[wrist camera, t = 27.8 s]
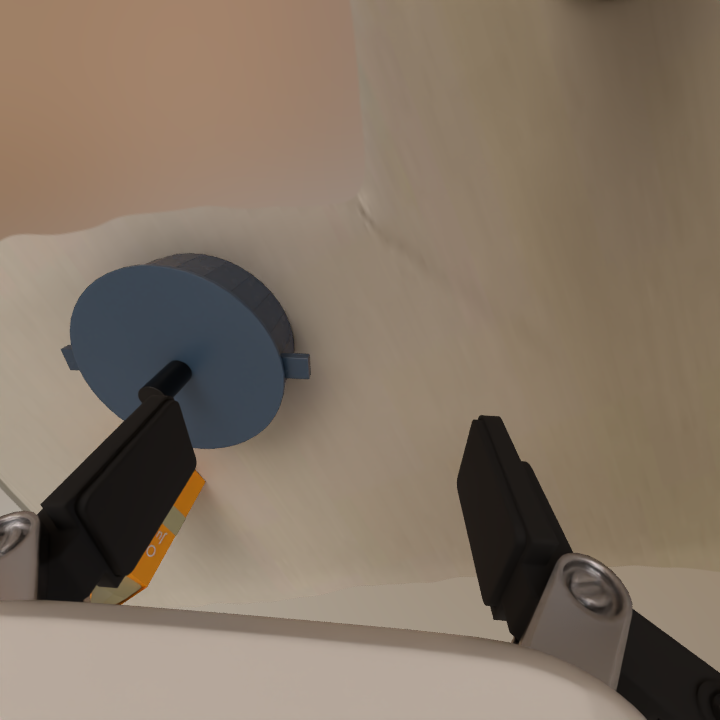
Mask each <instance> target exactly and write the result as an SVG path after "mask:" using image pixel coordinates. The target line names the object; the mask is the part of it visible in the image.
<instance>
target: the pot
mask: <svg viewBox="0 0 720 720" xmlns="http://www.w3.org/2000/svg"><path fill="white" fill-rule="evenodd" d="M146 264H156V265H166V266H172V267H177V268H181V269H185V270H188V271H191V272H194V273H197V274H200V275H202V276H204V277H206V278H208V279H210V280H213V281H215V282H217V283H218V284H220V285H221V286H223V287H225V288H226V289H228V290H229V291H231V292H232V293H233V294H235V295H236V296H237V297H239V298H240V299H241V300H242V301H244V302H245V303H246V304H247V305H248V306H249V307H250V308H251V309H252V310H253V311H254V312H255V313H256V314H257V316H258V317H259V318H260V319H261V320H262V322H263V323H264V324H265V326H266V327H267V329H268V330H269V332H270V333H271V335H272V337H273V339H274V341H275V343H276V345H277V347H278V349H279V352H280V355H281V358H282V362H283V367H284V374H285V382H286V380H287V378H293V379H309V378H310V375H311V370H310V355H309V354H300V353H294V341H293V334H292V330H291V327H290V323H289V321H288V318H287V316H286V314H285V312H284V310H283V308H282V307H281V305H280V304H279V302H278V301H277V299H276V298H275V297H274V295H273V294H272V293H271V292H270V291H269V290H268V289H267V288H266V287H265V285H264V284H263V283H261V282H260V281H259V280H258V279H257V278H255V277H254V276H253V275H252V274H250V273H248V272H247V271H245V270H244V269H242V268H241V267H239V266H237V265H234V264H232V263H230V262H228V261H225V260H223V259H220V258H217V257H213V256H208V255H203V254H192V253H190V254H176V255H172V256H167V257H165V258H161V259H157V260H154V261H151V262H149V263H146ZM146 264H144V265H146ZM61 351H62V353H63V355H64V357H65V359H66V362H67V364H68V366H69V368H70V370H79V368H78V366H77V363H76V360H75V358H74V355H73V351H72V346H71V345H68V346H66V347H64V348H62V349H61Z"/></svg>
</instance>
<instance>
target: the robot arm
mask: <svg viewBox="0 0 720 720" xmlns="http://www.w3.org/2000/svg"><path fill="white" fill-rule="evenodd" d="M195 468H196V457H195V454H194V451H193V447H192V444H191V441H190V437H189V434H188V431H187V427H186V424H185V421H184V418H183V414H182V411H181V408H180V404H179V402H178V401H175V400H174V398H173V397H172V396H164V395H151V396H149V397H148V398H147V399H146V400H145V401H144V402H143V403H142V404H141V405H140V406H139V407H138V408H137V409H136V410H135V411H134V412H133V413H132V414H131V415H130V416H129V417H128V418H127V419H126V420H125V421H124V422H123V423H122V424H121V425H120V426H119V427H118V428H117V429H116V430H115V431H114V432H113V433H112V434H111V435H110V436H109V437H108V438H107V439H106V440H105V441H104V442H103V443H102V444H101V445H100V446H99V447H98V448H97V449H96V450H95V451H94V452H93V453H92V454H91V455H90V456H89V457H88V458H87V459H86V460H85V461H84V462H83V463H82V464H81V465H80V466H79V467H78V468H77V469H76V470H75V471H74V472H73V473H72V474H71V475H70V476H69V477H68V478H67V479H66V480H65V481H64V482H63V483H62V484H61V485H60V486H59V487H58V488H57V489H56V490H55V491H54V492H53V493H52V494H51V495H50V496H48V497H47V498H46V499H45V500H44V501H43V502H42V503H41V504H40V505H41V506H42V507H43V509H42V510H41V511H40V512H39V513H38V514H37V515H36V514H35V513H34V512H29V511H19V512H13V513H10V514H7V515H3V516H1V517H0V720H720V673H719V672H718V671H716V670H715V669H714V668H712V667H711V666H710V665H708V664H707V663H706V662H704V661H703V660H701V659H700V658H698V657H697V656H696V655H695V654H693V653H692V652H690V651H689V650H688V649H687V648H685V647H684V646H682V645H681V644H680V643H678V642H677V641H676V640H674V639H673V638H672V637H670V636H669V635H668V634H666V633H665V632H663V631H662V630H661V629H659V628H658V627H656V626H655V625H654V624H653V623H651V622H650V621H648V620H647V619H646V618H644V617H643V616H642V615H640V614H639V613H638V612H636V611H635V610H633V609H632V601H631V598H630V595H629V592H628V591H627V589H626V587H625V586H624V584H623V583H622V581H621V580H620V579H619V578H618V577H617V576H616V574H615V573H614V572H613V571H612V570H610V569H609V568H608V567H607V566H605V565H604V564H603V563H601V562H600V561H598V560H596V559H594V558H592V557H590V556H588V555H584V554H580V553H573V551H572V549H571V547H570V545H569V543H568V541H567V539H566V537H565V535H564V533H563V531H562V529H561V527H560V525H559V523H558V521H557V519H556V517H555V514H554V512H553V510H552V508H551V506H550V504H549V502H548V500H547V498H546V496H545V494H544V492H543V490H542V488H541V486H540V484H539V482H538V480H537V478H536V476H535V473H534V471H533V469H532V468H531V466H530V465H529V464H528V463H527V462H524V461H521V460H520V458H519V456H518V454H517V451H516V449H515V447H514V445H513V443H512V441H511V438H510V436H509V434H508V432H507V430H506V428H505V425H504V423H503V421H502V419H501V418H500V417H499V416H484V415H481V416H479V418H478V420H473V421H472V424H471V428H470V432H469V436H468V439H467V443H466V447H465V451H464V455H463V458H462V462H461V466H460V470H459V474H458V478H457V489H458V494H459V498H460V503H461V507H462V512H463V516H464V520H465V525H466V529H467V534H468V538H469V542H470V547H471V551H472V556H473V560H474V564H475V569H476V573H477V578H478V582H479V586H480V591H481V595H482V599H483V602H484V604H485V605H486V606H490V607H491V611H492V615H493V619H494V620H502V621H507V624H508V628H509V631H510V633H511V634H512V635H513V636H514V637H513V640H512V642H511V643H509V642H504V641H498V640H491V639H485V638H479V637H472V636H463V635H454V634H445V633H435V632H427V631H418V630H408V629H396V628H385V627H375V626H363V625H353V624H342V623H331V622H320V621H308V620H296V619H284V618H273V617H262V616H251V615H238V614H226V613H215V612H202V611H191V610H179V609H166V608H153V607H141V606H128V605H116V604H103V603H91V597H90V594H91V593H92V591H93V590H94V588H95V587H96V585H97V586H98V587H108V588H118V587H119V585H120V583H121V582H122V580H123V579H124V577H125V576H128V575H129V574H131V573H132V571H133V570H134V569H135V567H136V565H137V564H138V562H139V561H140V559H141V557H142V556H143V554H144V552H145V551H146V549H147V547H148V546H149V544H150V543H151V541H152V539H153V538H154V536H155V534H156V533H157V531H158V530H159V528H160V526H161V525H162V523H163V521H164V520H165V518H166V516H167V515H168V513H169V512H170V510H171V508H172V507H173V505H174V503H175V502H176V500H177V499H178V497H179V495H180V494H181V492H182V490H183V489H184V487H185V486H186V484H187V482H188V481H189V479H190V477H191V476H192V474H193V472H194V471H195Z"/></svg>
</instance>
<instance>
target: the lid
mask: <svg viewBox="0 0 720 720" xmlns="http://www.w3.org/2000/svg"><path fill="white" fill-rule="evenodd" d="M70 339H71V346H72V351H73V355H74V358H75V360H76V363H77V366H78V368H79V370H80V372H81V374H82V375H83V377H84V379H85V381H86V382H87V384H88V385H89V387H90V388H91V390H92V391H93V392H94V393H95V394H96V396H97V397H98V398H99V399H100V400H101V401H102V402H103V403H104V404H105V405H106V406H107V407H108V408H109V409H110V410H111V411H112V412H114V413H115V414H116V415H117V416H118V417H120V418H121V419H122V420H124V421H125V420H126V419H127V418H128V417H129V416H130V415H131V414H132V413H133V412H134V411H135V410H136V409H137V408H138V407H139V406H140V405H141V404H142V403H143V402H144V401H145V400H146V399H147V398H148V397H149V396H151V395H164V396H172V397H173V398H174V400H175V401H178V402H179V404H180V408H181V411H182V414H183V418H184V421H185V424H186V427H187V431H188V434H189V437H190V441H191V444H192V447H193V448H200V449H215V448H224V447H228V446H233V445H236V444H239V443H242V442H245V441H247V440H249V439H251V438H253V437H254V436H256V435H257V434H258V433H260V432H261V431H263V430H264V429H265V428H266V427H267V426H268V425H269V424H270V422H271V421H272V419H273V418H274V417H275V415H276V413H277V411H278V409H279V407H280V405H281V401H282V398H283V394H284V387H285V374H284V367H283V362H282V358H281V355H280V352H279V349H278V347H277V345H276V343H275V341H274V339H273V337H272V335H271V333H270V332H269V330H268V329H267V327H266V326H265V324H264V323H263V322H262V320H261V319H260V318H259V317H258V316H257V314H256V313H255V312H254V311H253V310H252V309H251V308H250V307H249V306H248V305H247V304H246V303H245V302H244V301H242V300H241V299H240V298H239V297H237V296H236V295H235V294H233V293H232V292H231V291H229V290H228V289H226V288H225V287H223V286H221V285H220V284H218V283H217V282H215V281H213V280H210V279H208V278H206V277H204V276H202V275H200V274H197V273H194V272H191V271H188V270H185V269H181V268H177V267H172V266H166V265H156V264H146V265H134V266H129V267H123V268H121V269H118V270H115V271H112V272H110V273H107V274H105V275H104V276H102V277H100V278H98V279H97V280H95V281H94V282H93V283H92V284H91V285H89V286H88V287H87V288H86V289H85V291H84V292H83V293H82V295H81V296H80V297H79V299H78V301H77V303H76V305H75V307H74V310H73V313H72V317H71V324H70Z"/></svg>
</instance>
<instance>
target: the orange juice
mask: <svg viewBox="0 0 720 720" xmlns="http://www.w3.org/2000/svg"><path fill="white" fill-rule="evenodd" d="M204 484H205V481H204V479H203V478H202V477H201V476H200V475H199V474H198V473H197V471H196V470H195V471H194V472H193V474H192V476H191V477H190V479H189V481H188V482H187V484H186V486H185V487H184V489H183V490H182V492H181V494H180V495H179V497H178V499H177V500H176V502H175V503H174V505H173V507H172V508H171V510H170V512H169V513H168V515H167V516H166V518H165V520H164V521H163V523H162V525H161V526H160V528H159V530H158V531H157V533H156V534H155V536H154V538H153V539H152V541H151V543H150V544H149V546H148V547H147V549H146V551H145V552H144V554H143V556H142V557H141V559H140V561H139V562H138V564H137V565H136V567H135V569H134V570H133V571H132V573H131V574H129V575H128V576H125V577H124V579H123V580H122V582H121V583H120V585H119V587H118V588H108V587H98V586H97V585H96V587H95V588H94V590H93V591H92V593H91V594H90V597H91V603H103V604H116V605H121V604H123V603H124V602H126V601H127V600H129V599H130V598H132V597H133V596H135V595H136V594H138V593H139V592H141V591H142V590H143V589H145V588H146V587H148V584H149V583H150V581H151V579H152V577H153V575H154V574H155V572H156V570H157V568H158V566H159V565H160V563H161V561H162V559H163V557H164V556H165V554H166V552H167V550H168V548H169V547H170V545H171V543H172V541H173V539H174V538H175V536H176V535H177V533H178V531H179V530H180V528H181V526H182V524H183V522H184V521H185V519H186V516H187V514H188V512H189V511H190V509H191V507H192V505H193V503H194V502H195V500H196V498H197V496H198V495H199V493H200V491H201V489H202V487H203V486H204Z"/></svg>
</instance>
